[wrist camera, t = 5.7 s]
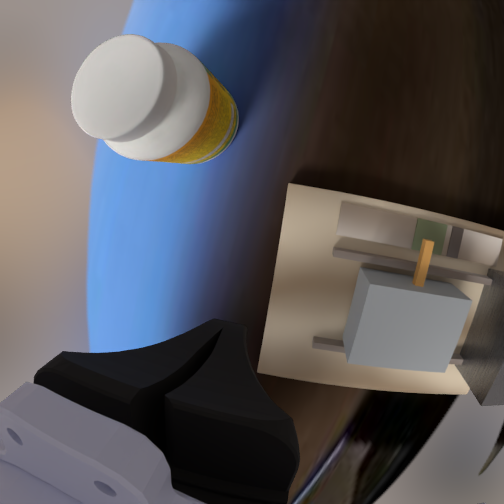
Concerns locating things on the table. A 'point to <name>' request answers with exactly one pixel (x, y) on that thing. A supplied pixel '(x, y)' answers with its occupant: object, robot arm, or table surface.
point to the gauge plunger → (404, 319)
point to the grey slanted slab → (486, 345)
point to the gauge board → (345, 277)
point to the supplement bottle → (153, 102)
